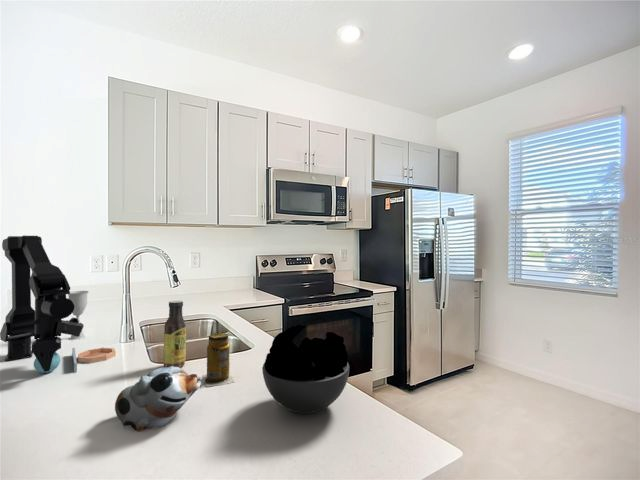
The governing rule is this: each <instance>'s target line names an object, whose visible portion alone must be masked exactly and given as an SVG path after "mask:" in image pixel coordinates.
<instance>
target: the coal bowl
mask: <svg viewBox="0 0 640 480" xmlns="http://www.w3.org/2000/svg"><path fill="white" fill-rule="evenodd" d="M307 327H308V325H301V324H298V325H294V326H290V327H288V328H287V329H285V330H284V331H283V332H278V334H276V335H275V337H274V338H273V340H272V343H271V346H270V348H269V352H268V353H267V354H266V357H265V360H264V363H263V365H262V376H263V381H264V383H265V387H266V389H267V391H268V392H269V394H270V396H271V397H272V398H273V399H274V400H275V401H276V403H278V404H279V405H281V406H282V407H283V408H285V409H287V410H289V411H292V412H295V413H299V414H300V413H301V414H310V413H312V414H313V413H316V412H318V411H322V410H324V409H326V408H328V407H329V406H330V405H332V404H333V403H335V401H336V400H338V398H339V397H340V396H341V394H342V393H343V392H344V389H345V387H346V384H347V383H348V379H349V374H350V364H349V362H348V358H349V356H348V352H347V347H346V345H345V341H346V339H345V338H344V336H341V335H338V334H336V332H332V331H327V332H326V333H325V338H321V337H320V338H319V337H312V338H311V339H310V338H309V337H305V338H303V339H302V340H301V342H300V344H299V346H298V345H297V344H296V343H294V342H293V341H294V339H295V337H297V335H299V334H300V333H301V332H302V331H303V330H304V329H305V328H307Z"/></svg>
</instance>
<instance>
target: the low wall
mask: <svg viewBox="0 0 640 480" xmlns="http://www.w3.org/2000/svg"><path fill="white" fill-rule="evenodd" d="M71 350H72V351H71V354H72V355H71V356H72V363H73V372H74V373H77V372H78V363H77V362H78V359H77V354H76V349H75V347H72V349H71Z"/></svg>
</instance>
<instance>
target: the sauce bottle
mask: <svg viewBox="0 0 640 480" xmlns="http://www.w3.org/2000/svg"><path fill="white" fill-rule="evenodd" d="M183 306H184V301H183V300H171V301H170V300H169V301H168V308H169V310H168V318H167V320H166V321H165V323H164V331H163V332H164V333H163V351H162V352H163V353H162V354H163V355H162V356H163V357H162V362H163V368H166V367H171V366H172V367H179V368H181V369H182V367H184V366H185V363H186V352H187V351H186V350H187V349H186V348H187V347H186V346H187V326H186V323H185V320H184V317H183Z"/></svg>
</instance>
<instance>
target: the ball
mask: <svg viewBox="0 0 640 480" xmlns="http://www.w3.org/2000/svg"><path fill="white" fill-rule="evenodd" d="M60 363H61V356H60V355H59V353H57V351H56V352H55V353H54V355H53V358H52V362H51V366H50V370H49V371H47V372H44V370H43V368H42V367H41V365H40V363H39V361H38V360H37V358H36V357H35V359H34V360H33V368H34V369H35V371H36V372H39V373H41V374H48V373H51V372H53V371H55V370H56V369H57V368H58V367H59V365H60Z"/></svg>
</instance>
